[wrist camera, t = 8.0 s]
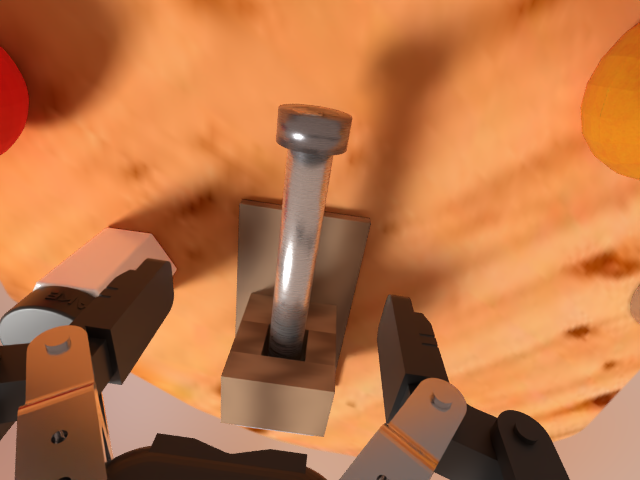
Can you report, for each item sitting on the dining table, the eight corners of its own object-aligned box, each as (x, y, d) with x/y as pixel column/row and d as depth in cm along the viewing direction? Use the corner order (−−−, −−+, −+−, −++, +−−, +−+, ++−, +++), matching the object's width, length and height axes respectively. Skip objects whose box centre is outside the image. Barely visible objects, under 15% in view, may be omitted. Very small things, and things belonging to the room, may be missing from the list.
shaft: (284, 100, 24) (272, 112, 20) (351, 111, 24) (353, 125, 20) (262, 351, 36) (252, 390, 32) (307, 357, 36) (303, 397, 32)
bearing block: (370, 218, 33) (382, 295, 23) (330, 387, 45) (327, 486, 35) (242, 199, 33) (198, 268, 23) (236, 373, 45) (205, 470, 35)
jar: (191, 283, 38) (133, 375, 28) (130, 304, 40) (55, 397, 29) (140, 212, 34) (51, 288, 24) (76, 239, 36) (-33, 320, 26)
